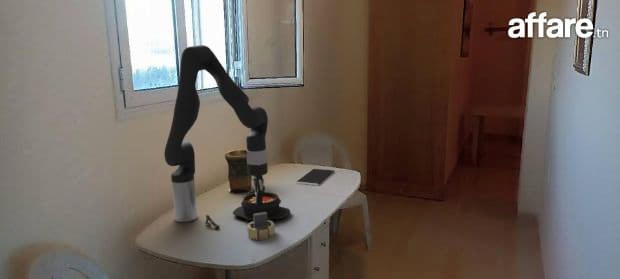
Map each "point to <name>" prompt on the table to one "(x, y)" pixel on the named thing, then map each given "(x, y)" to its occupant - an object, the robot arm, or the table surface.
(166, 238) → the table surface
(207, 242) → the table surface
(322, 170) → the smartphone
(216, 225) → the wooden post with brackets
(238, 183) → the vessel
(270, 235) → the octagonal wooden ring
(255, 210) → the casserole
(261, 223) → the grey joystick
